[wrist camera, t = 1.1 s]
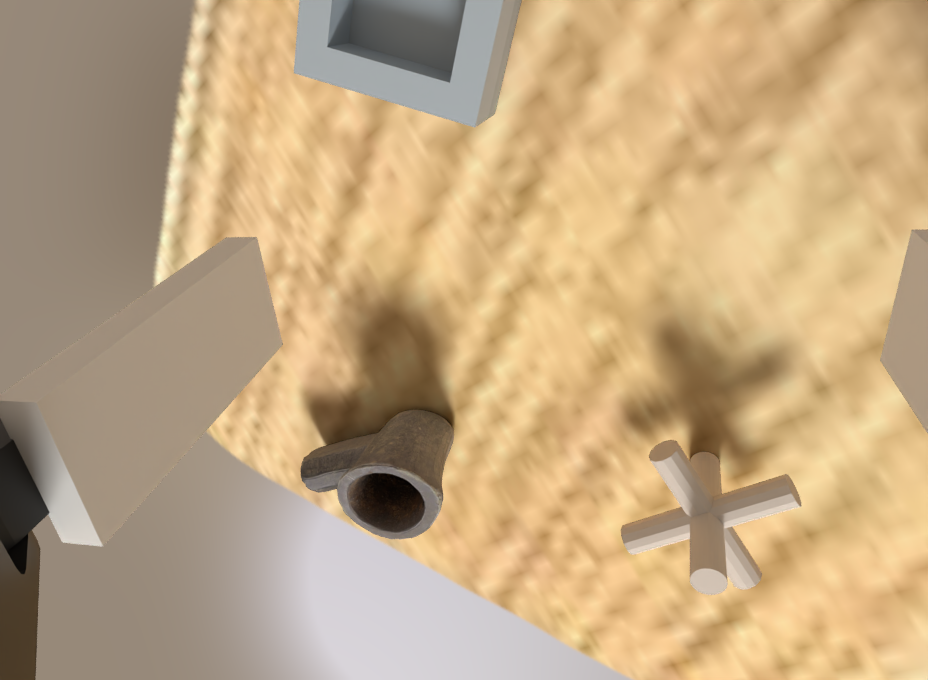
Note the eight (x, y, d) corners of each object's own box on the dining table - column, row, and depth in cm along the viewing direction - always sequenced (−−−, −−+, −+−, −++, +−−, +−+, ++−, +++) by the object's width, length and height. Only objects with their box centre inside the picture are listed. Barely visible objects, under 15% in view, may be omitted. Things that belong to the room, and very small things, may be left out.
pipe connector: (596, 431, 44) (574, 537, 36) (744, 372, 39) (759, 479, 31) (671, 540, 46) (667, 665, 38) (819, 497, 42) (852, 629, 33)
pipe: (311, 422, 51) (254, 489, 44) (455, 384, 46) (415, 454, 39) (349, 485, 53) (299, 558, 46) (491, 455, 48) (458, 534, 41)
